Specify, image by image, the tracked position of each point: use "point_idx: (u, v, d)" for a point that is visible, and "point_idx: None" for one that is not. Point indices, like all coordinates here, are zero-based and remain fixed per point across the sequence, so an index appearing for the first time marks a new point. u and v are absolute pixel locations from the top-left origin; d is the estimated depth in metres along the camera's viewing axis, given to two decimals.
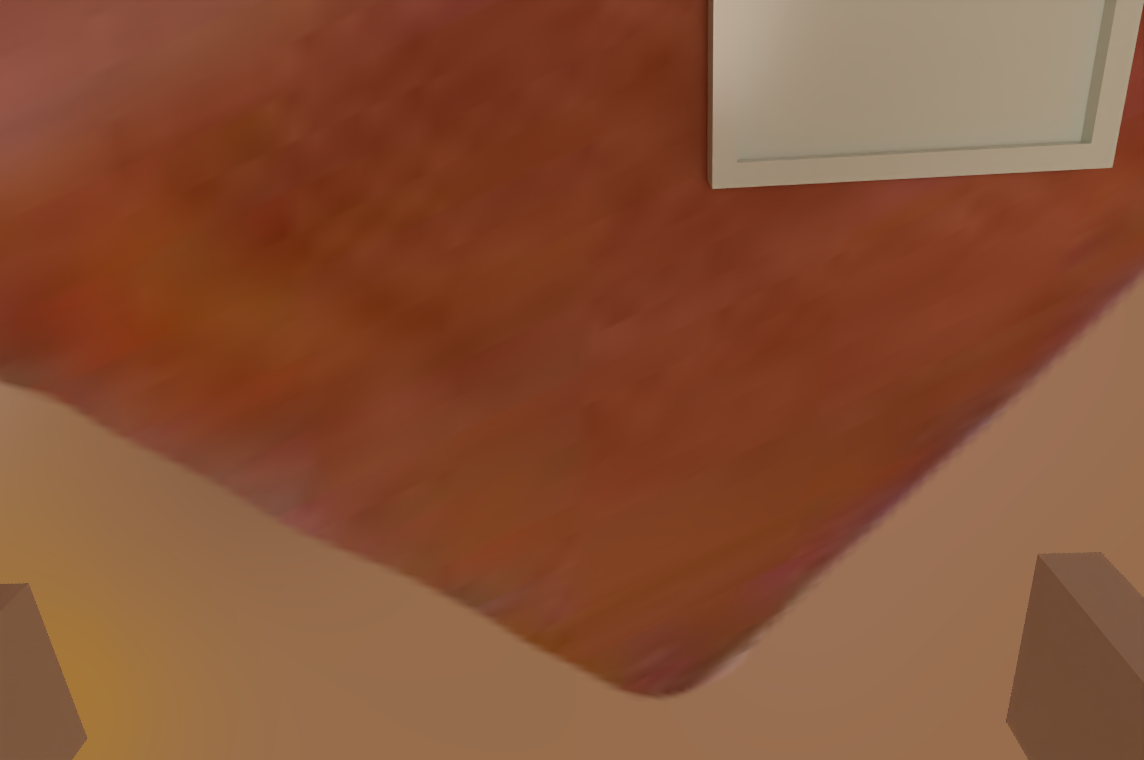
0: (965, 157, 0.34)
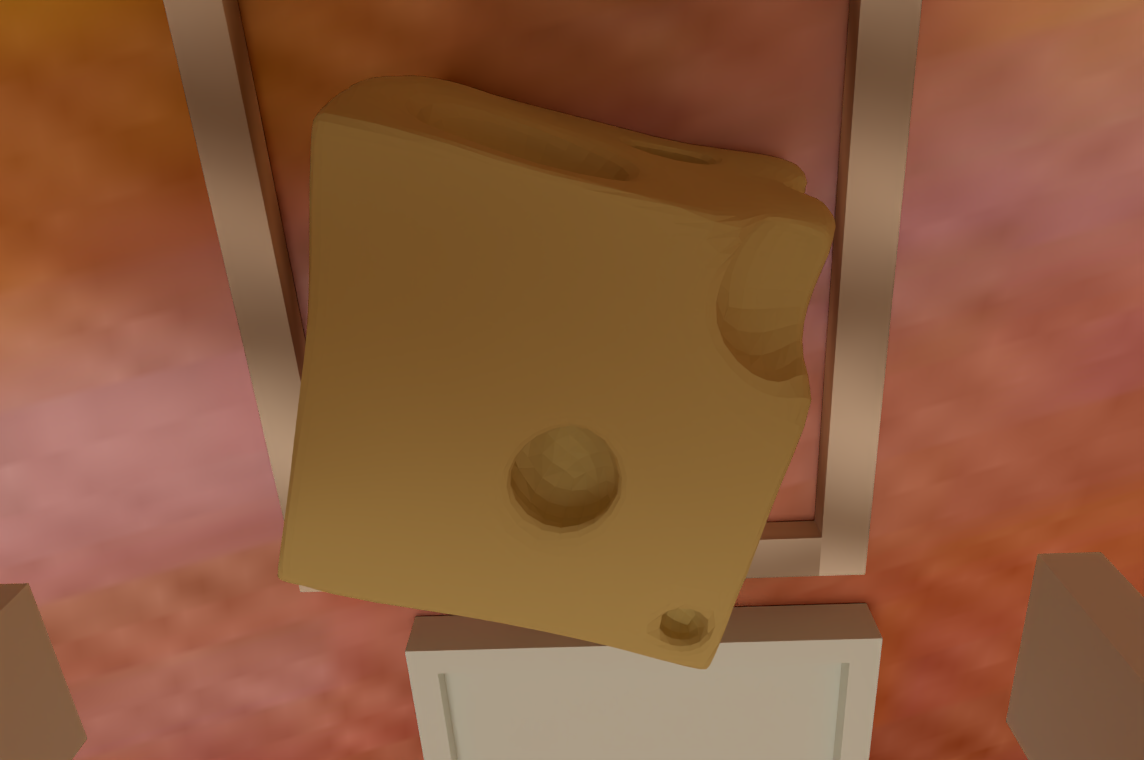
0: None
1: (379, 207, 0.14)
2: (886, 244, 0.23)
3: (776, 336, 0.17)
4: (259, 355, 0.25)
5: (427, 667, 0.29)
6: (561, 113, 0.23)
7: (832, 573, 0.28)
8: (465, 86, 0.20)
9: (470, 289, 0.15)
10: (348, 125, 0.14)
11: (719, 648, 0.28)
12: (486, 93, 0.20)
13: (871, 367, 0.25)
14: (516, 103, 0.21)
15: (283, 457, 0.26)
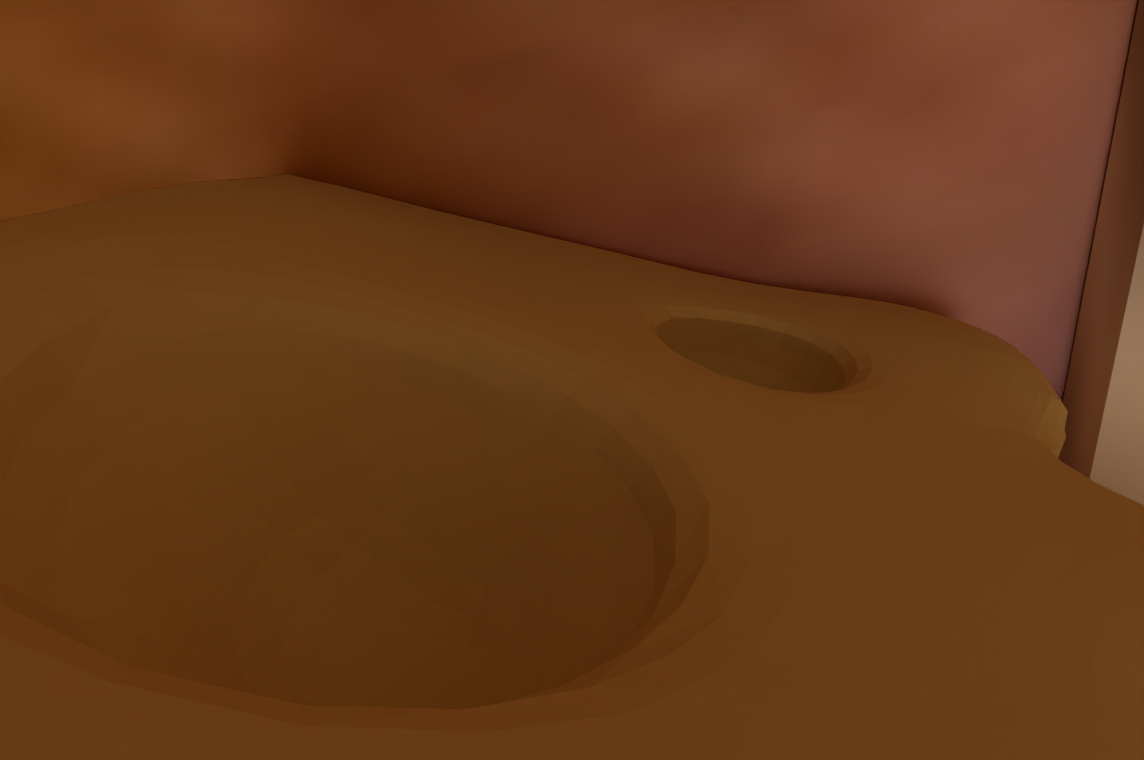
0: None
1: None
2: None
3: None
4: None
5: None
6: (519, 235, 0.11)
7: None
8: (291, 205, 0.09)
9: None
10: None
11: None
12: (340, 219, 0.09)
13: None
14: (415, 231, 0.10)
15: None
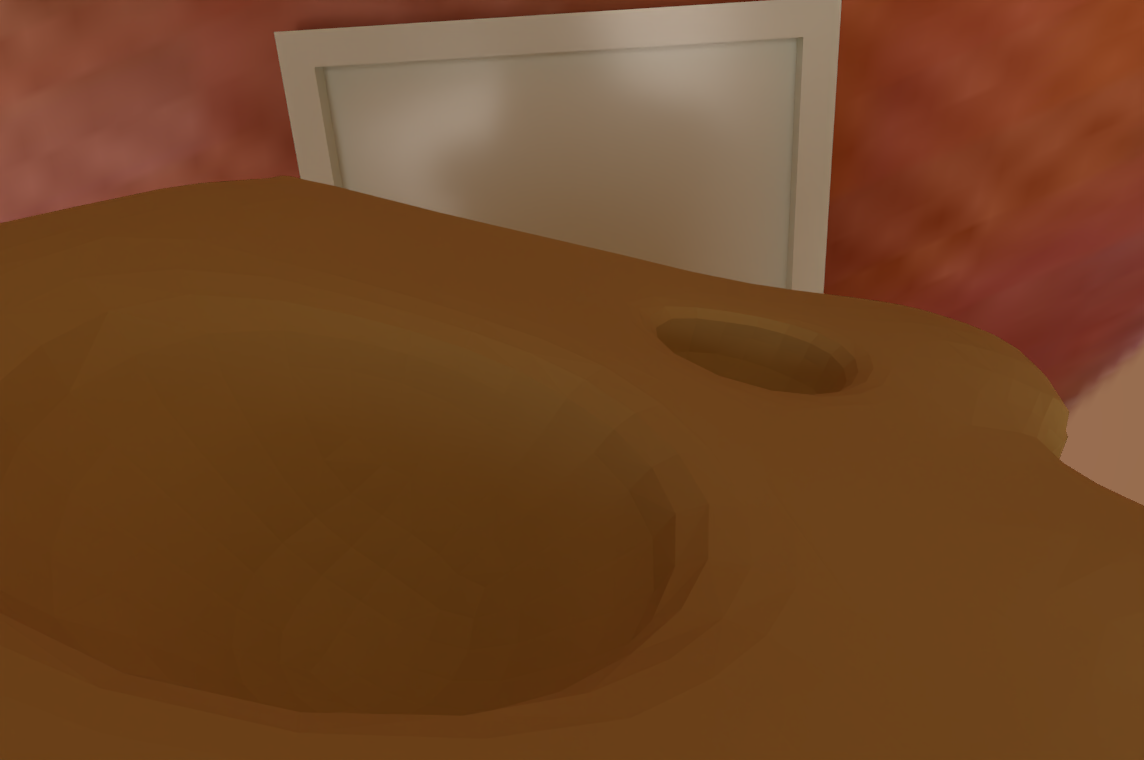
0: None
1: None
2: None
3: None
4: None
5: (301, 57, 0.24)
6: (519, 236, 0.11)
7: None
8: (289, 206, 0.09)
9: None
10: None
11: (647, 17, 0.23)
12: (338, 220, 0.09)
13: None
14: (414, 232, 0.10)
15: None
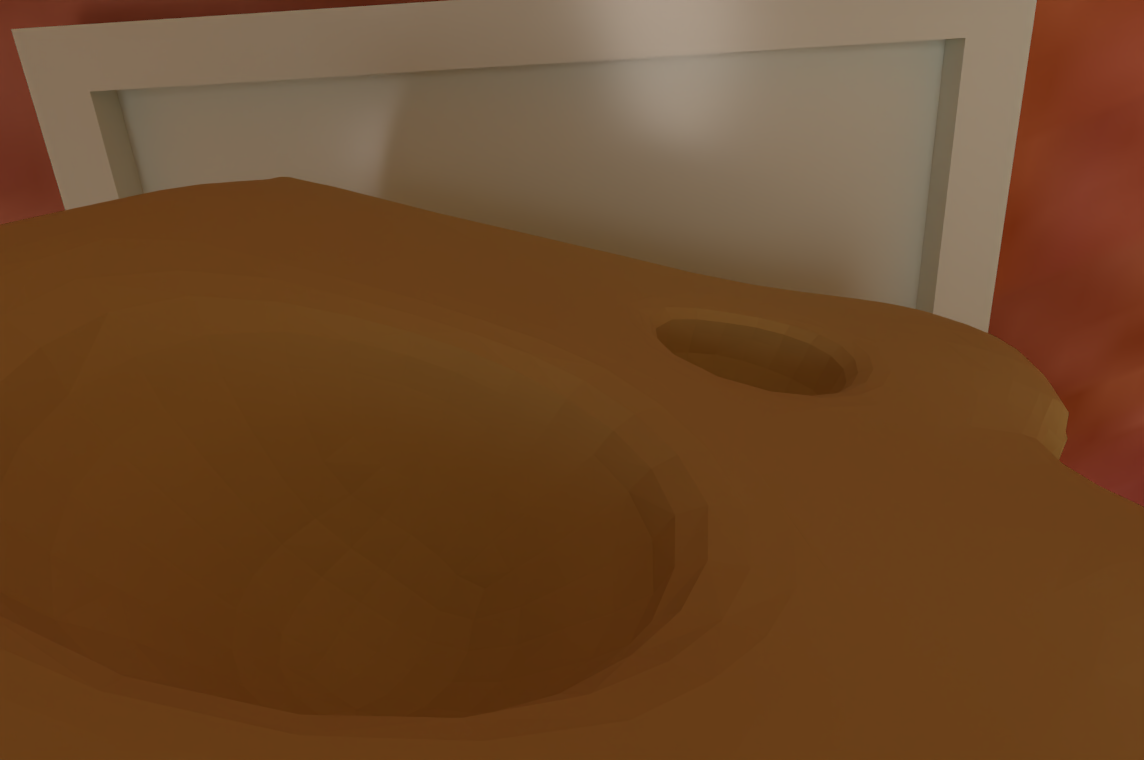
0: None
1: None
2: None
3: None
4: None
5: (65, 74, 0.14)
6: (519, 236, 0.11)
7: None
8: (289, 207, 0.09)
9: None
10: None
11: (682, 3, 0.13)
12: (338, 221, 0.09)
13: None
14: (414, 233, 0.10)
15: None
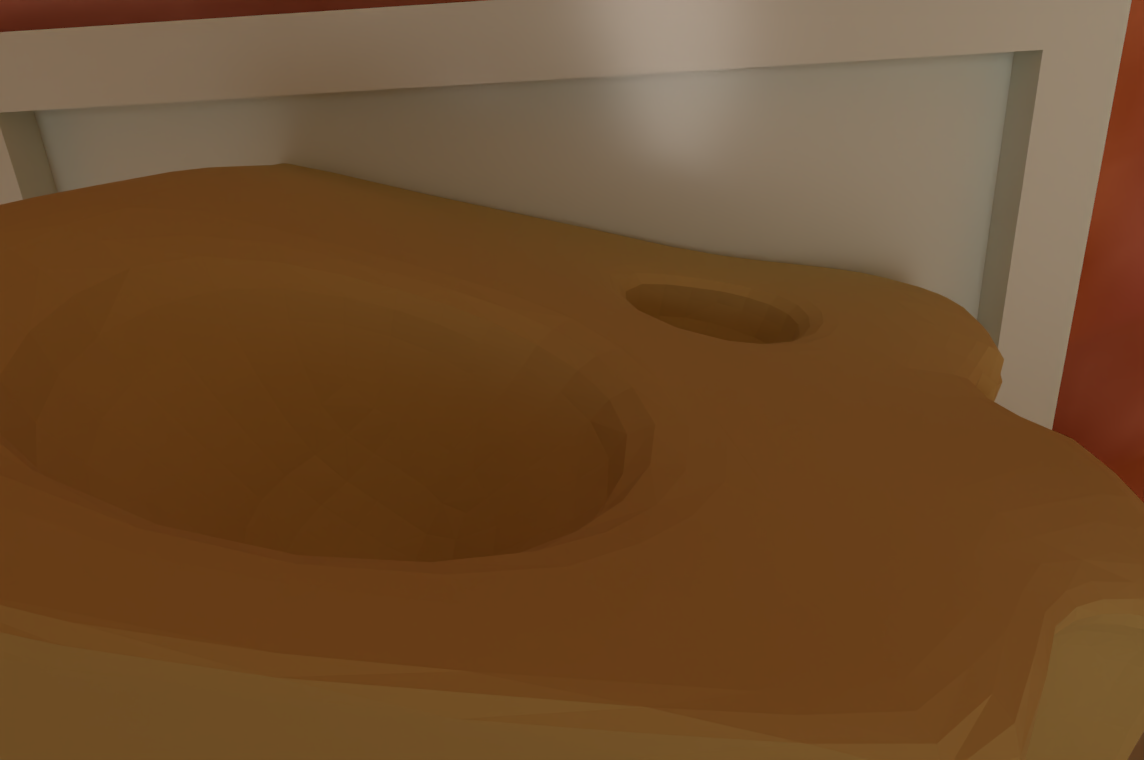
0: None
1: None
2: None
3: None
4: None
5: None
6: (502, 214, 0.12)
7: None
8: (288, 186, 0.10)
9: None
10: None
11: (702, 8, 0.11)
12: (333, 198, 0.10)
13: None
14: (403, 209, 0.11)
15: None
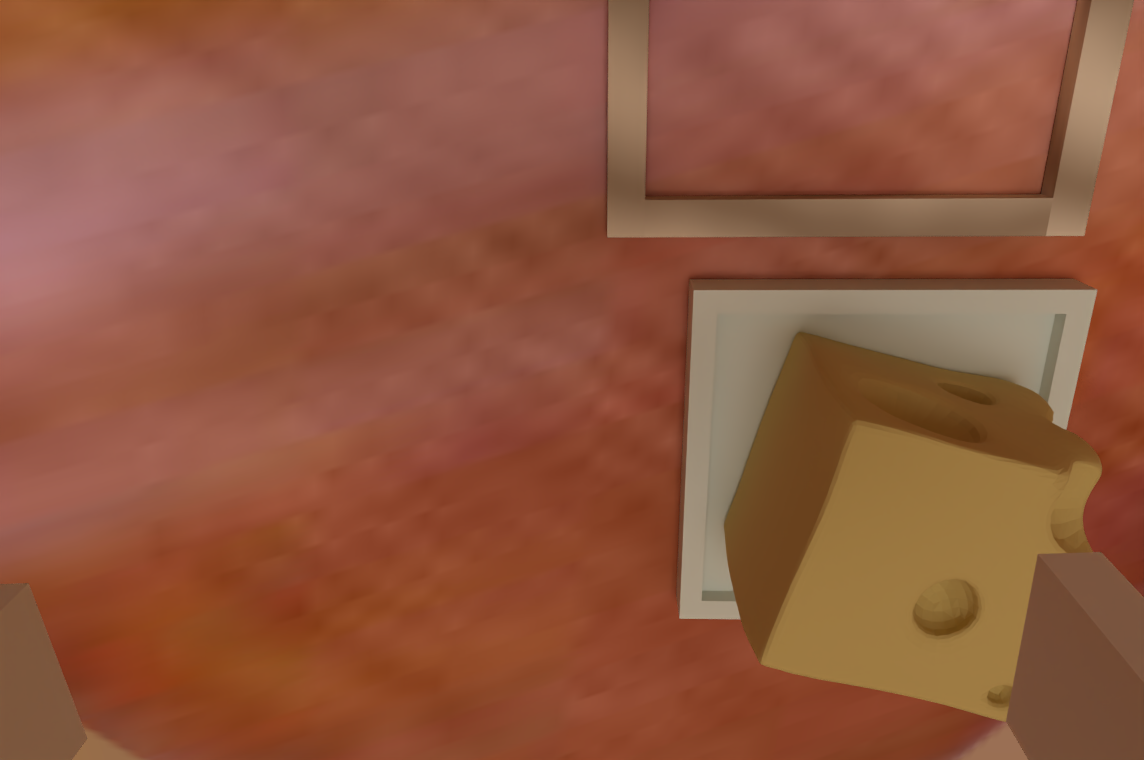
0: None
1: (881, 467, 0.26)
2: None
3: (1069, 526, 0.29)
4: (619, 2, 0.31)
5: (709, 307, 0.34)
6: (878, 353, 0.35)
7: (1056, 233, 0.33)
8: (839, 350, 0.33)
9: (919, 508, 0.27)
10: (873, 427, 0.26)
11: (959, 295, 0.34)
12: (851, 353, 0.33)
13: (1115, 34, 0.31)
14: (863, 355, 0.33)
15: (619, 102, 0.32)
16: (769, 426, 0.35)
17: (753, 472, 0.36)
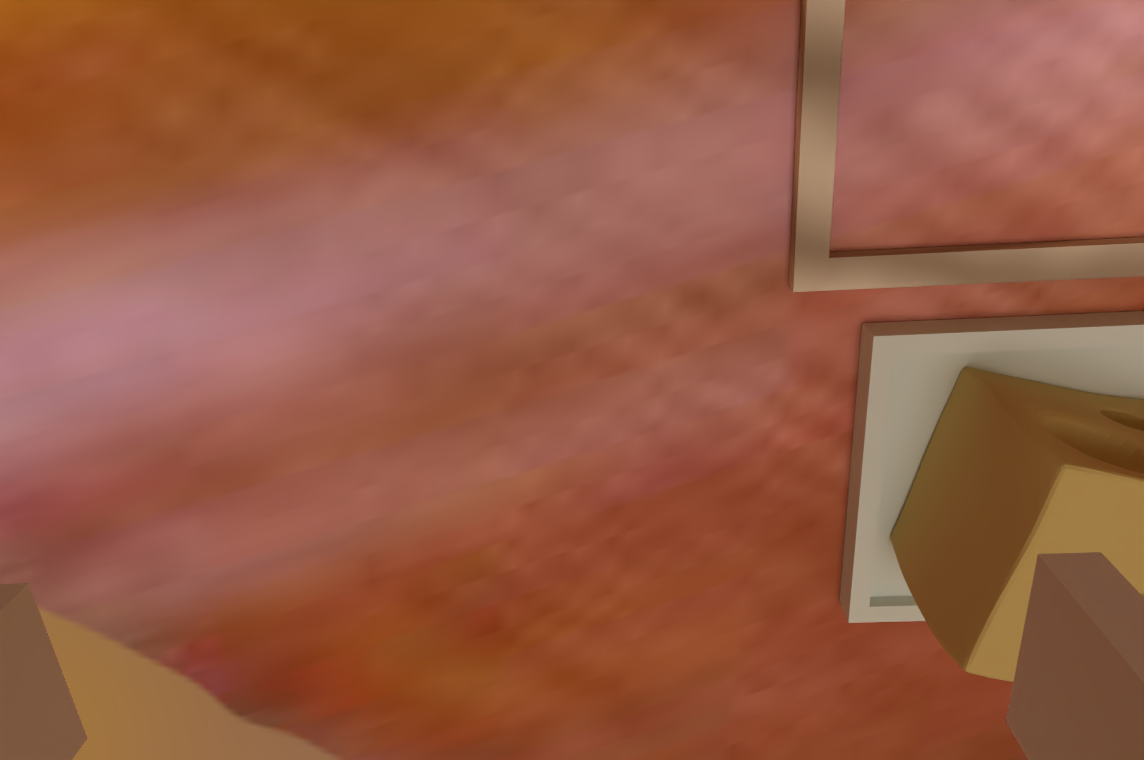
0: None
1: (1084, 503, 0.30)
2: None
3: None
4: (813, 88, 0.34)
5: (887, 350, 0.38)
6: (1039, 384, 0.38)
7: None
8: (1013, 386, 0.36)
9: (1116, 536, 0.31)
10: (1080, 471, 0.30)
11: (1116, 331, 0.37)
12: (1023, 389, 0.36)
13: None
14: (1031, 389, 0.37)
15: (809, 174, 0.36)
16: (941, 453, 0.39)
17: (925, 494, 0.40)
